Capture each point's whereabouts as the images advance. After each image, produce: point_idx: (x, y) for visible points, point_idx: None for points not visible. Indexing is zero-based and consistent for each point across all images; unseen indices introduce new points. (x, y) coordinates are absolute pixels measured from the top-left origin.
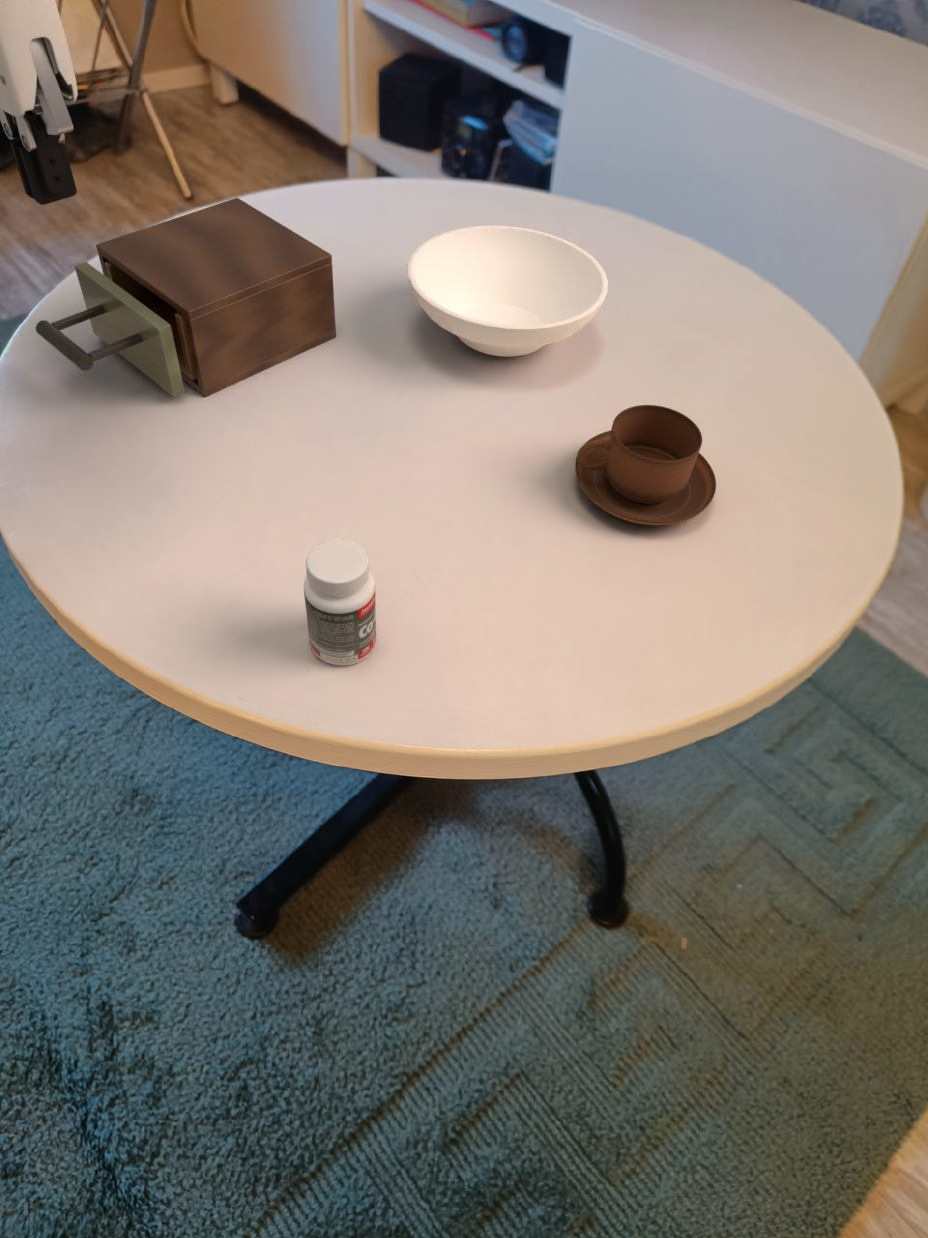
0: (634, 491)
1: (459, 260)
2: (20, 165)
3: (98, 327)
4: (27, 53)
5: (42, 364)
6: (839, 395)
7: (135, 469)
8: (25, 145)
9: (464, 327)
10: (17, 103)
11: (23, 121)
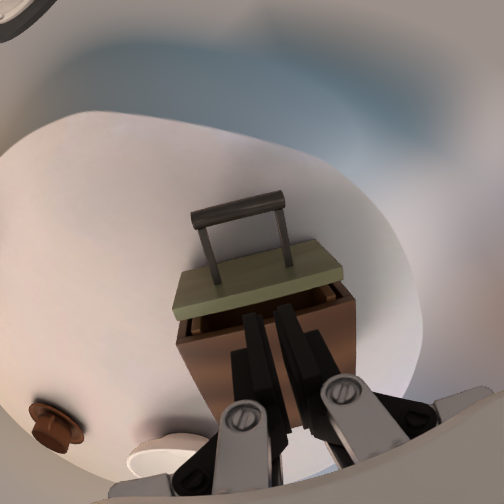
0: (39, 416)
1: None
2: (291, 345)
3: (304, 246)
4: None
5: (301, 181)
6: (111, 478)
7: (113, 213)
8: (255, 406)
9: (143, 446)
10: None
11: (215, 474)
